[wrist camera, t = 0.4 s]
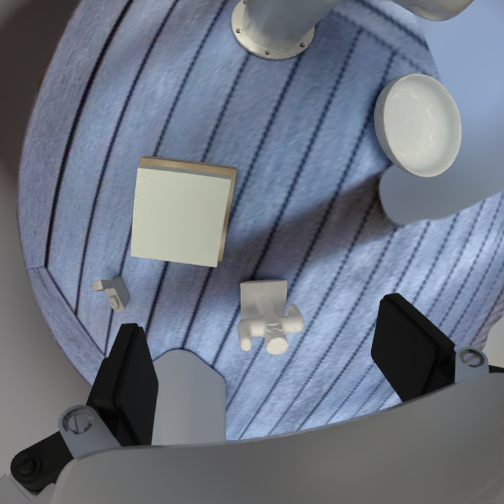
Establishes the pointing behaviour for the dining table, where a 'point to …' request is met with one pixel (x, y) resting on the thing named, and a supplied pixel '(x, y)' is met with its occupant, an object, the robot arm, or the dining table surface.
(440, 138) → the cereal bowl
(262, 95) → the dining table surface
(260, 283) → the figurine
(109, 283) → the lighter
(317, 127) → the dining table surface
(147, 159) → the birch base block
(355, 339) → the dining table surface
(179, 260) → the sage top block
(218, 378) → the plastic bottle
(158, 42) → the dining table surface
